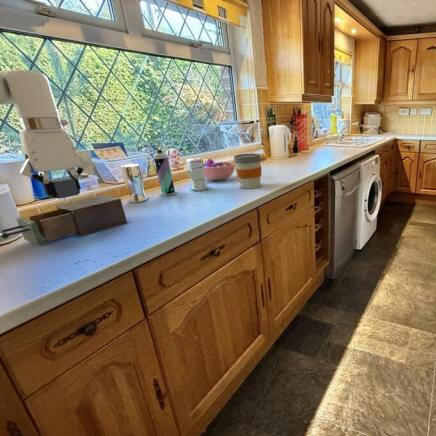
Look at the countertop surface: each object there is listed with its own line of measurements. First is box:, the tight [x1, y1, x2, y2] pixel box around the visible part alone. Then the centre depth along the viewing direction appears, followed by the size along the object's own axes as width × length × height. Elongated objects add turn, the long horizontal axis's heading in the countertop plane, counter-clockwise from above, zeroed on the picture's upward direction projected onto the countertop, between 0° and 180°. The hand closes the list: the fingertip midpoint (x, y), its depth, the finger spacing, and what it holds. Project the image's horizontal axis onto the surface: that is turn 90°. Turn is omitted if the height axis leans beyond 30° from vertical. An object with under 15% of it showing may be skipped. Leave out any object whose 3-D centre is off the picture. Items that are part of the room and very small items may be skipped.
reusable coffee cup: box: [233, 153, 262, 190], centre depth 144 cm, size 13×13×15 cm
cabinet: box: [55, 194, 128, 238], centre depth 99 cm, size 14×12×9 cm
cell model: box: [203, 158, 236, 181], centre depth 161 cm, size 17×20×11 cm
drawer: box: [0, 209, 79, 247], centre depth 88 cm, size 18×10×7 cm, turn 151°
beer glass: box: [120, 163, 148, 203], centre depth 127 cm, size 7×7×15 cm
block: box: [50, 176, 80, 200], centre depth 81 cm, size 4×4×4 cm
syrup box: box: [185, 157, 208, 192], centre depth 142 cm, size 6×6×14 cm
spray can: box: [153, 149, 176, 197], centre depth 135 cm, size 6×6×20 cm
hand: (65, 194), depth 82 cm, fingers closed on block, 4 cm apart
